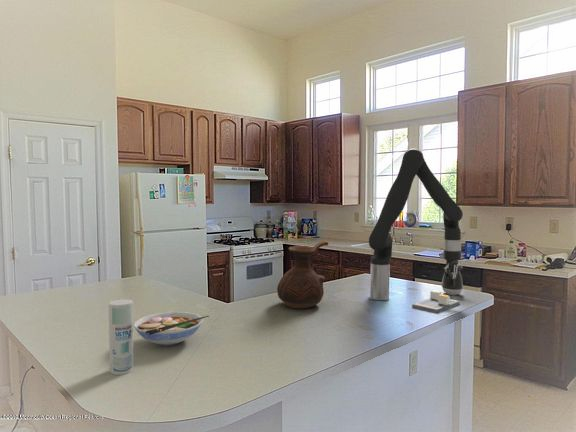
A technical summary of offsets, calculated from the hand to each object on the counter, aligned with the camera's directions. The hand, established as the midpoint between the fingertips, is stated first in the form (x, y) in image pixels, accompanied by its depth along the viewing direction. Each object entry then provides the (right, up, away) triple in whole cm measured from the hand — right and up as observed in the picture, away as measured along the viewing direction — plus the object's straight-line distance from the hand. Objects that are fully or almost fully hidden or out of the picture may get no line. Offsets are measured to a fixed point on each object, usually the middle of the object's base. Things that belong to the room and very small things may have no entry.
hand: (451, 286), depth 197 cm
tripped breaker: (-5, -7, -4) cm, 10 cm away
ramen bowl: (-117, -11, -51) cm, 128 cm away
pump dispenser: (+9, -8, +22) cm, 25 cm away
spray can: (-125, -12, -74) cm, 145 cm away
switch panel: (-8, -9, -1) cm, 12 cm away
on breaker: (-6, -7, +5) cm, 10 cm away
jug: (-70, -9, -2) cm, 71 cm away
